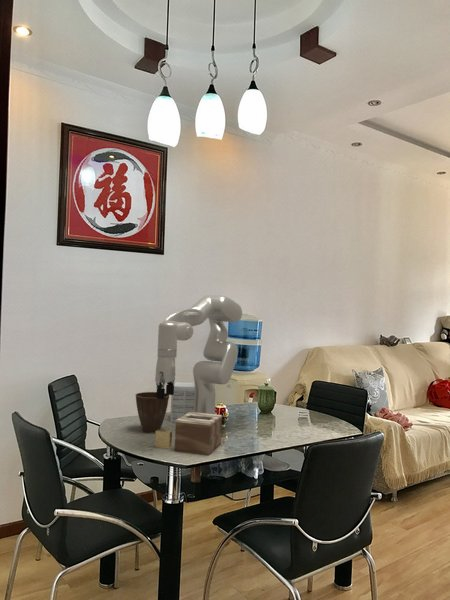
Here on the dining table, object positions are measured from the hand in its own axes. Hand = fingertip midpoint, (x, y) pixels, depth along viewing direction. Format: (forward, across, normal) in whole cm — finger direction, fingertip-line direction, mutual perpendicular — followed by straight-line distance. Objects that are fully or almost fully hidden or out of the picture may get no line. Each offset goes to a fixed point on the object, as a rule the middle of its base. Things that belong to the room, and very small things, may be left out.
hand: (165, 396), depth 203 cm
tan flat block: (+20, 0, 0) cm, 20 cm away
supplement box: (+20, -48, -9) cm, 53 cm away
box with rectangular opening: (+20, -5, +13) cm, 24 cm away
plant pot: (+20, -22, -15) cm, 34 cm away
